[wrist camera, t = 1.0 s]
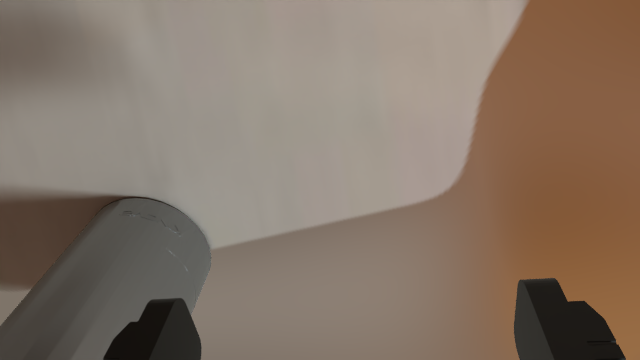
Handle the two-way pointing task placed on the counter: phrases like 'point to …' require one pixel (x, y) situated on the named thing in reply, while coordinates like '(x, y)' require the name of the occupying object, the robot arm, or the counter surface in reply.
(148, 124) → the counter surface
